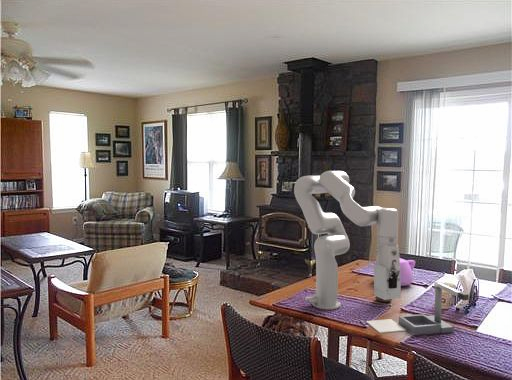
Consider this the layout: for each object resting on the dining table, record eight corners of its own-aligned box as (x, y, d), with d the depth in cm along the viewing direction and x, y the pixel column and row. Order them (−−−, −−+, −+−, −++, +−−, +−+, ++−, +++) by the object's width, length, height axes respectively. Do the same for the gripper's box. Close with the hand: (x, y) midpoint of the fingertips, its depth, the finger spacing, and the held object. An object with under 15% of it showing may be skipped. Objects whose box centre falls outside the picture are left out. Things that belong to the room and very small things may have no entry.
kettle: (423, 286, 211) (424, 258, 210) (386, 289, 206) (387, 260, 205) (399, 275, 233) (399, 249, 232) (365, 277, 228) (365, 250, 227)
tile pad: (379, 333, 153) (379, 332, 153) (366, 322, 164) (366, 321, 164) (406, 330, 155) (406, 329, 155) (391, 319, 166) (391, 319, 166)
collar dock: (415, 335, 151) (416, 294, 150) (397, 323, 163) (398, 285, 162) (453, 332, 154) (454, 292, 153) (433, 320, 166) (434, 282, 165)
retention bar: (470, 299, 144) (470, 294, 144) (462, 300, 144) (462, 294, 143) (439, 286, 160) (439, 281, 160) (432, 286, 160) (432, 281, 160)
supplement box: (385, 300, 154) (385, 267, 153) (373, 295, 161) (373, 263, 160) (401, 298, 156) (401, 265, 156) (389, 293, 163) (388, 262, 163)
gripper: (409, 244, 149) (408, 291, 151) (385, 236, 166) (384, 278, 168) (390, 245, 148) (389, 292, 149) (368, 236, 165) (367, 279, 166)
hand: (386, 284), depth 158 cm, fingers closed on supplement box, 8 cm apart
